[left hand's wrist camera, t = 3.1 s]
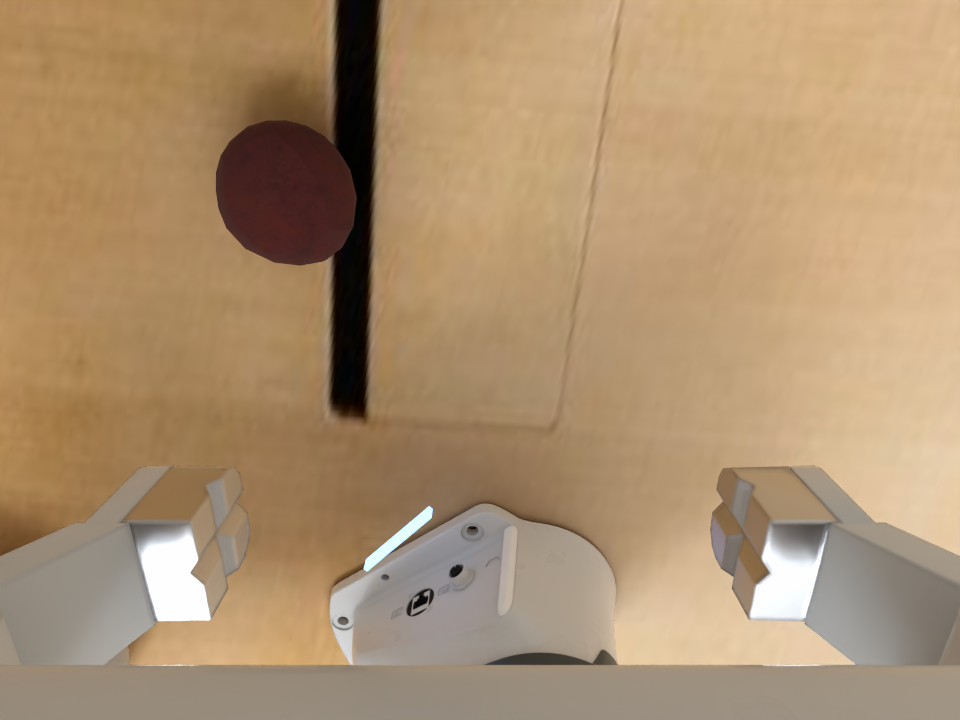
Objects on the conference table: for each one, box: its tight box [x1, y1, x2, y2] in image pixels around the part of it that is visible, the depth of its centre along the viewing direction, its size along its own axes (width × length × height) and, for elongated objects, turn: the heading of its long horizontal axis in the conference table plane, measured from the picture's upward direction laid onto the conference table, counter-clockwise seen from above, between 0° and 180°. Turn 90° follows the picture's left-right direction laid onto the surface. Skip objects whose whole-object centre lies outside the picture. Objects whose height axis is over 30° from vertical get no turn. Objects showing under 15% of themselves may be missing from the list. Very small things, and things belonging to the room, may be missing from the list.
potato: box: [216, 121, 357, 265], centre depth 32 cm, size 7×8×7 cm
